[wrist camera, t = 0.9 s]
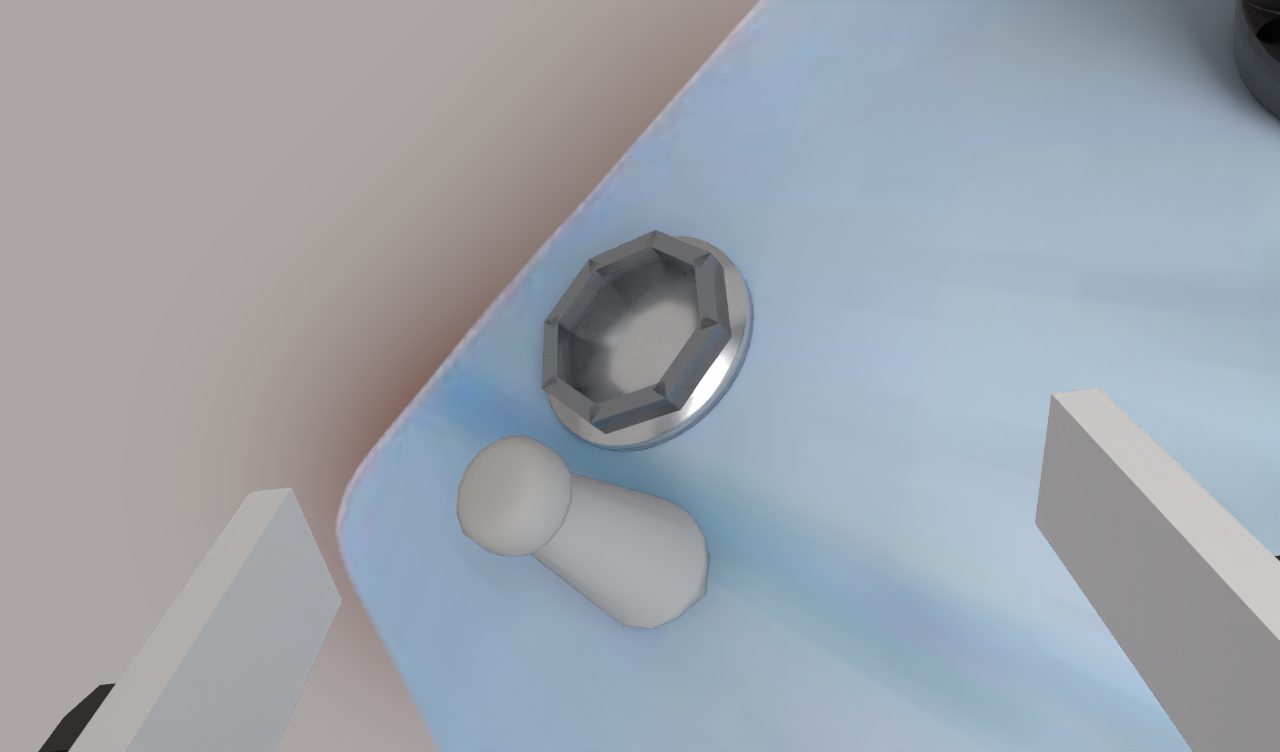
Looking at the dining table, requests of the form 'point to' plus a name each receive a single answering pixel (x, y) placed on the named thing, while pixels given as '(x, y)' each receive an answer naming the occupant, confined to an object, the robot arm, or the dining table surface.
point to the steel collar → (646, 341)
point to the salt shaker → (585, 531)
